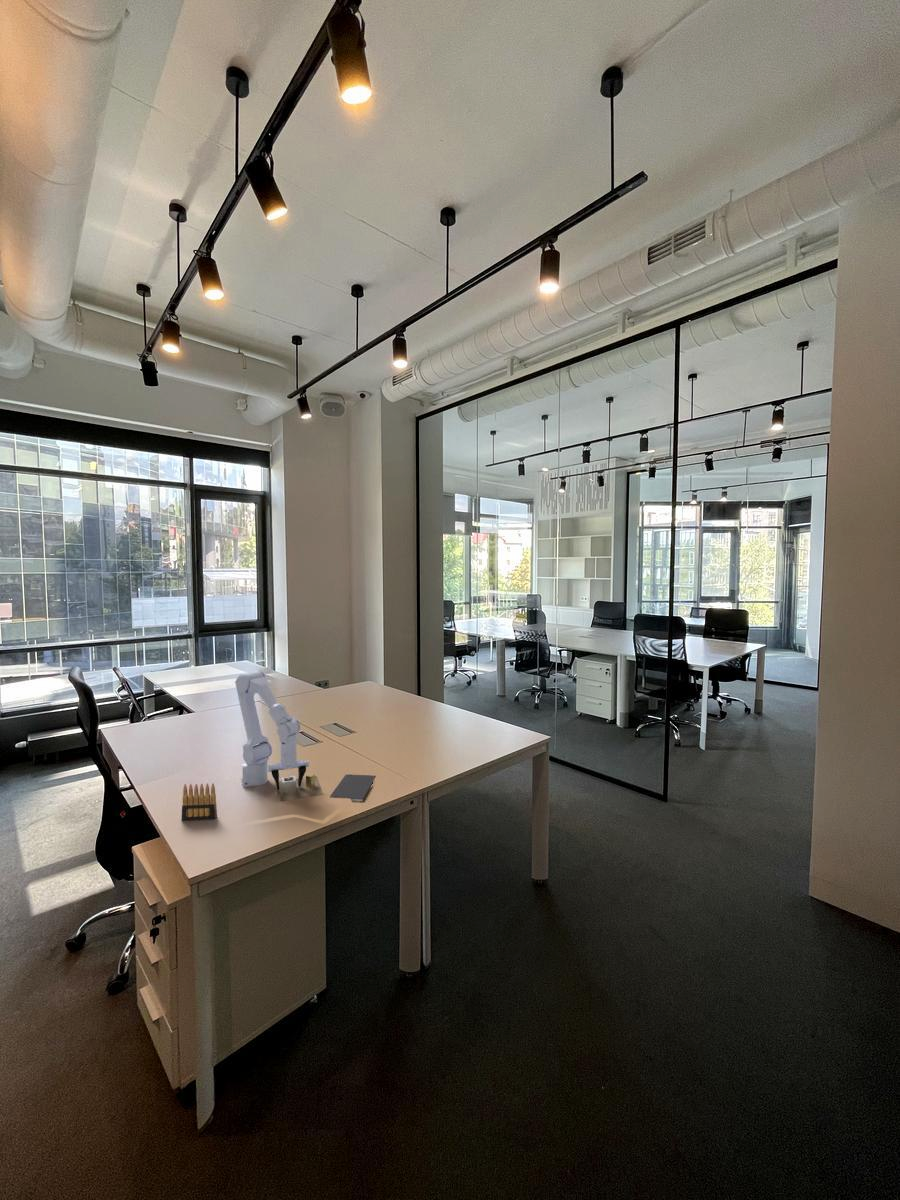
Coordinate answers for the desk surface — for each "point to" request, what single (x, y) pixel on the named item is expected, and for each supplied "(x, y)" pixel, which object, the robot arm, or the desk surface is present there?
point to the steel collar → (288, 784)
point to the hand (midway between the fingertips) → (288, 787)
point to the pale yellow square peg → (310, 780)
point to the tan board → (301, 791)
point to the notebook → (353, 787)
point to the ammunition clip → (199, 803)
